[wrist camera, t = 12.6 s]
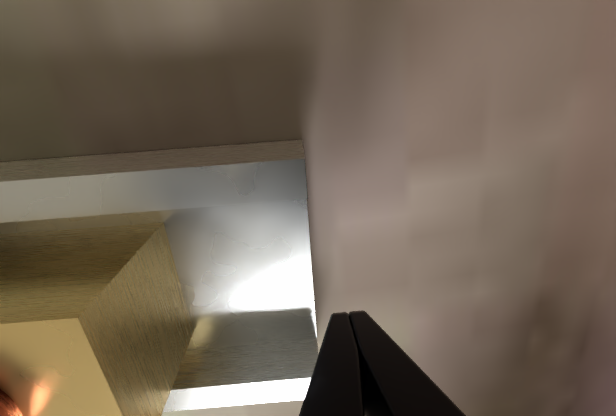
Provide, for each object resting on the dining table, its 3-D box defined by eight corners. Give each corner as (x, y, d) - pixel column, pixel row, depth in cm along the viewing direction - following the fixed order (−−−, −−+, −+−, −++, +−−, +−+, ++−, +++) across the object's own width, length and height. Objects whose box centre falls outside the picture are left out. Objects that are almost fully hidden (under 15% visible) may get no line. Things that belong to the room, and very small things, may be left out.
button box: (163, 222, 9) (53, 344, 5) (193, 332, 11) (131, 492, 7) (-73, 239, 9) (-390, 379, 5) (-5, 348, 11) (-194, 520, 7)
